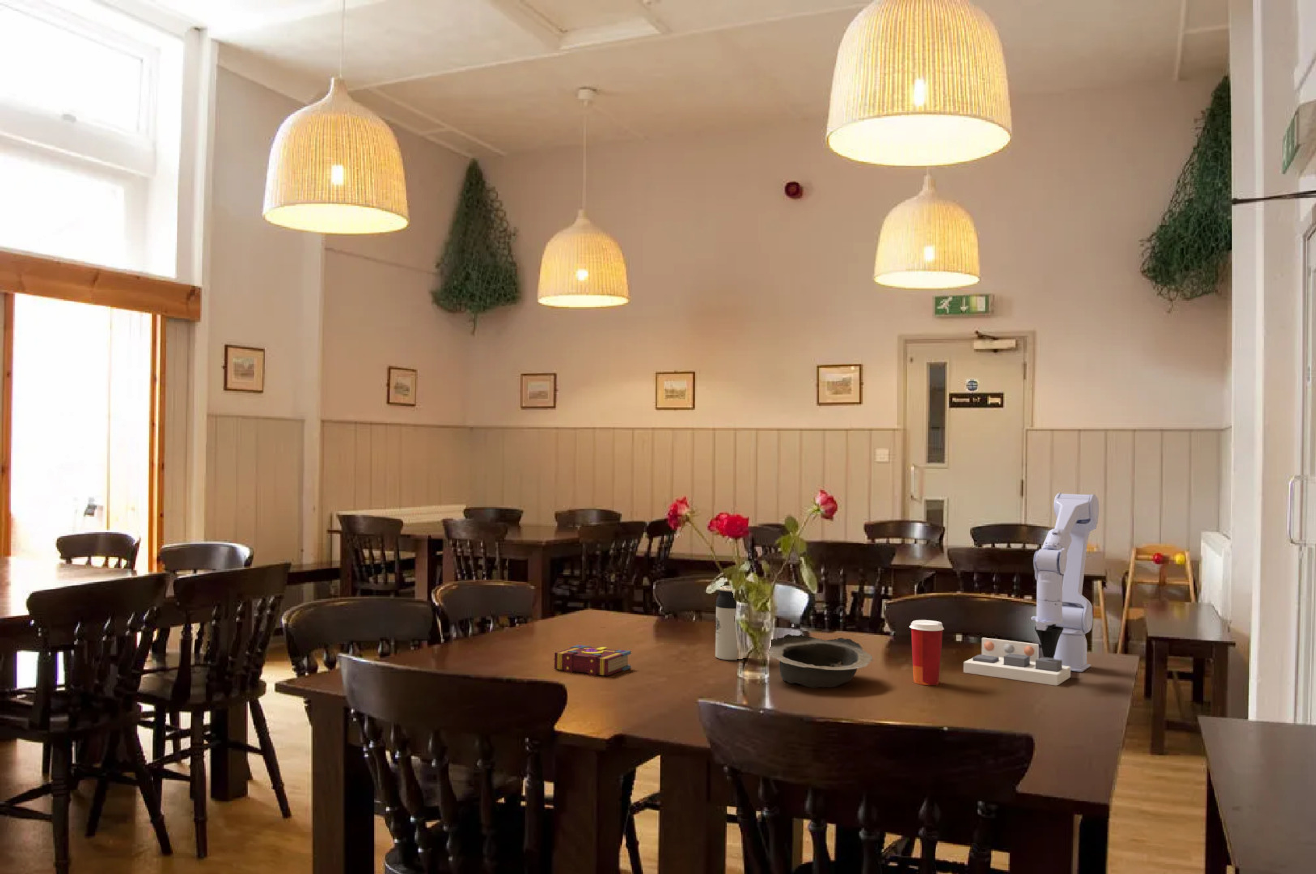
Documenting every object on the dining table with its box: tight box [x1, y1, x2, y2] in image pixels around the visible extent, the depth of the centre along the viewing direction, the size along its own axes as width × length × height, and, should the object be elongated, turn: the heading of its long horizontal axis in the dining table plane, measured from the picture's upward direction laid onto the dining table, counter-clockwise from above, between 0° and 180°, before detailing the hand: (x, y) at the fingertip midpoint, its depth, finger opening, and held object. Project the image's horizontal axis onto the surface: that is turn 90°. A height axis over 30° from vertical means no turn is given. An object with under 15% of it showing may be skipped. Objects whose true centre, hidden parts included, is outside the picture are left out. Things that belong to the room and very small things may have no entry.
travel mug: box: [714, 585, 738, 661], centre depth 263 cm, size 8×8×18 cm
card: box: [981, 637, 1040, 662], centre depth 260 cm, size 1×14×6 cm, turn 54°
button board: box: [963, 657, 1072, 687], centre depth 248 cm, size 12×22×2 cm, turn 54°
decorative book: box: [553, 644, 632, 677], centre depth 247 cm, size 11×16×5 cm
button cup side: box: [1036, 656, 1062, 672], centre depth 244 cm, size 5×5×3 cm
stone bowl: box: [766, 633, 874, 689], centre depth 237 cm, size 25×25×9 cm
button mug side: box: [972, 653, 999, 663], centre depth 253 cm, size 5×5×3 cm
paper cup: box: [909, 619, 945, 686], centre depth 238 cm, size 8×8×14 cm
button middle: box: [1004, 653, 1030, 668], centre depth 248 cm, size 5×5×3 cm
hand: (1048, 657), depth 244 cm, fingers closed
